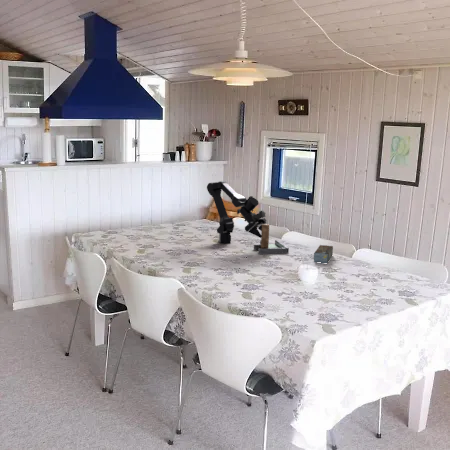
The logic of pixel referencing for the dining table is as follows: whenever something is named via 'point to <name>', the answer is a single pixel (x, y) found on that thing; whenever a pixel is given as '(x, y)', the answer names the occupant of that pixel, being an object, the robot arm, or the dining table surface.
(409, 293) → the dining table surface
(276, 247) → the green pad
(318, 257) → the dark grey box
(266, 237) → the walnut post
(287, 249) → the metal rail corridor
